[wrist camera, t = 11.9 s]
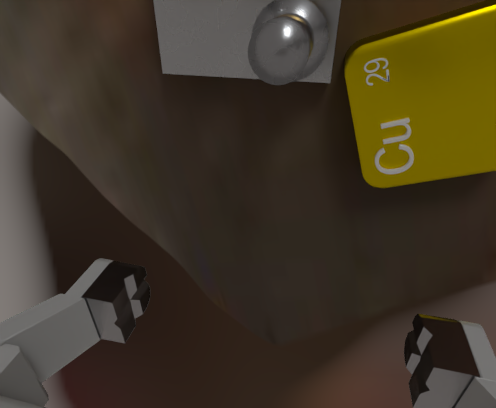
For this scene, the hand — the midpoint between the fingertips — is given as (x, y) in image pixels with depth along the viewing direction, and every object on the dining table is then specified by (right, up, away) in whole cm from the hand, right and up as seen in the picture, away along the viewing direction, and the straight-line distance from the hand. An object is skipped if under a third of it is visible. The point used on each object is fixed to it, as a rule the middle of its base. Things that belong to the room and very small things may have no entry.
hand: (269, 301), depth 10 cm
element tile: (+18, +14, +25) cm, 34 cm away
